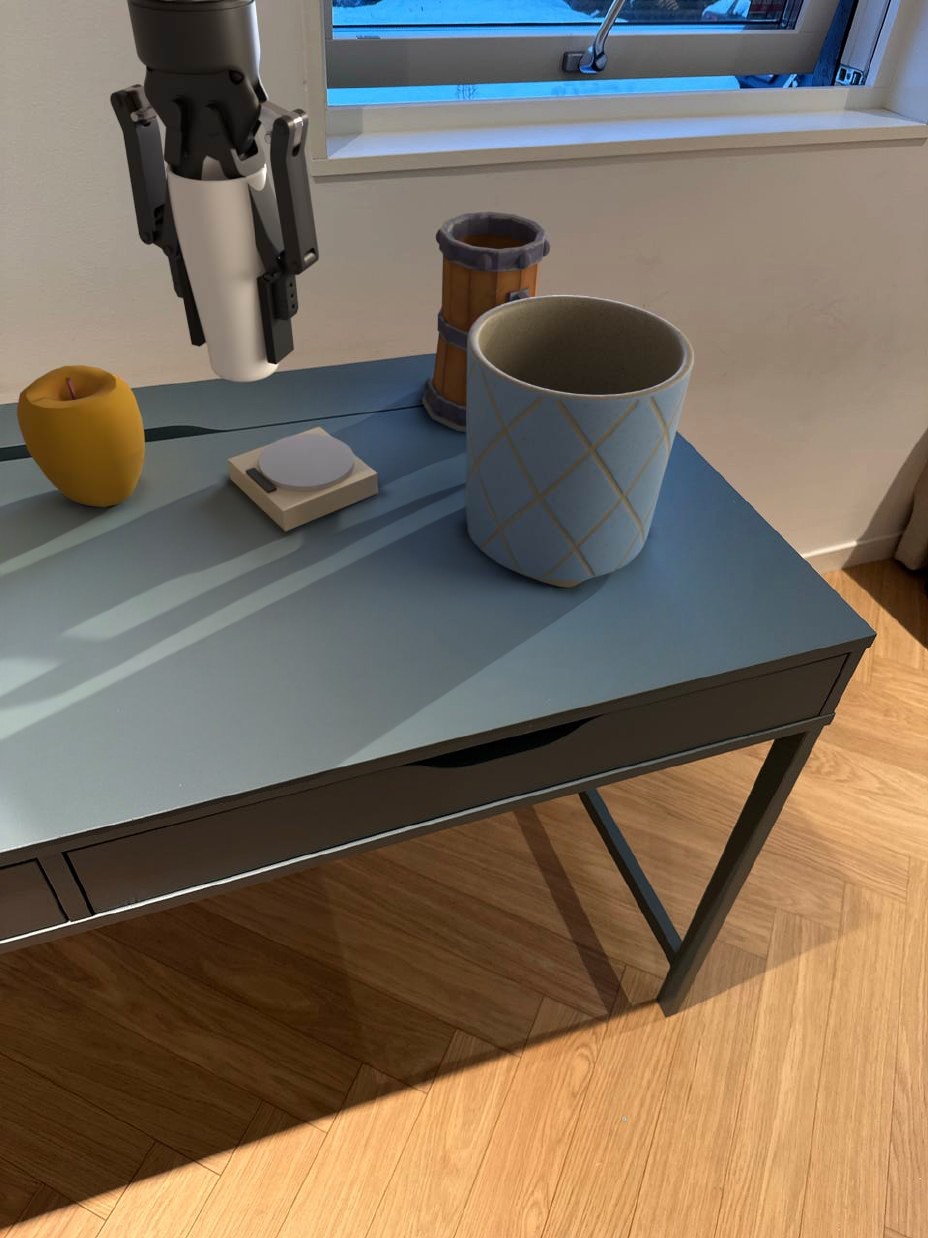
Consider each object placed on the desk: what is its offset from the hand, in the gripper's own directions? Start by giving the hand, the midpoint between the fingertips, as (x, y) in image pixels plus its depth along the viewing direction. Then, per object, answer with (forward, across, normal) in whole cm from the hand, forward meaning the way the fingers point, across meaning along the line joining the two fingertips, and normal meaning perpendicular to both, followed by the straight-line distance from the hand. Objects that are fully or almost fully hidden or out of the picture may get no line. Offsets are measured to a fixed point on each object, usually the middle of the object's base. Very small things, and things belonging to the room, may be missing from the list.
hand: (242, 346), depth 70 cm
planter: (+22, -23, -15) cm, 35 cm away
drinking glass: (+2, 0, 0) cm, 2 cm away
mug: (+22, -9, -34) cm, 42 cm away
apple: (+22, +21, -2) cm, 30 cm away
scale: (+22, +3, -12) cm, 25 cm away
